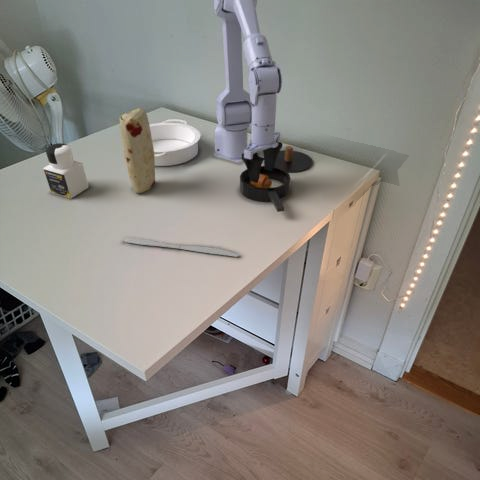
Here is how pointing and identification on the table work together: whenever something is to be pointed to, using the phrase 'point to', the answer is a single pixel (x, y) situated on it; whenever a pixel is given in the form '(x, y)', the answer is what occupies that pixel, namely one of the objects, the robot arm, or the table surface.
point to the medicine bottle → (64, 171)
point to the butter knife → (181, 247)
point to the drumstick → (263, 182)
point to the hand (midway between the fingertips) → (261, 175)
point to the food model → (138, 149)
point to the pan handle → (276, 201)
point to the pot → (174, 142)
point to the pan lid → (292, 160)
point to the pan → (262, 193)
